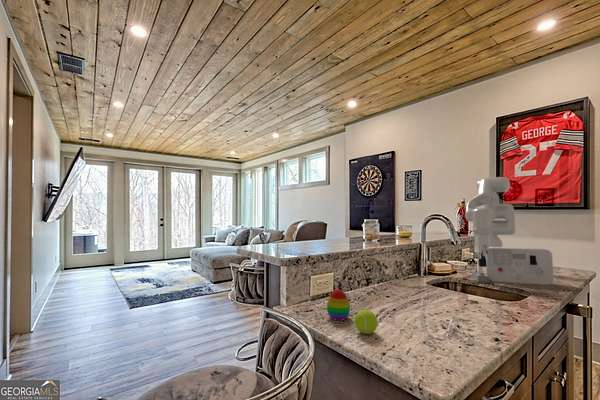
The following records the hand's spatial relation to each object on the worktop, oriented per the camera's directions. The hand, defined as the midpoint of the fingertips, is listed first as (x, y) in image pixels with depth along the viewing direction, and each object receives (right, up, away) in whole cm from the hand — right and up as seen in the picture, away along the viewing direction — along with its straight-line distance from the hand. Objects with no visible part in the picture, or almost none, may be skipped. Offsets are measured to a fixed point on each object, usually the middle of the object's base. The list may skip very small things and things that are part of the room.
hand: (482, 266), depth 151 cm
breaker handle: (+3, -6, +7) cm, 10 cm away
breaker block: (+3, -9, +6) cm, 11 cm away
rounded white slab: (+19, -9, 0) cm, 21 cm away
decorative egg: (-83, -7, -48) cm, 96 cm away
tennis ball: (-76, -7, -61) cm, 98 cm away
